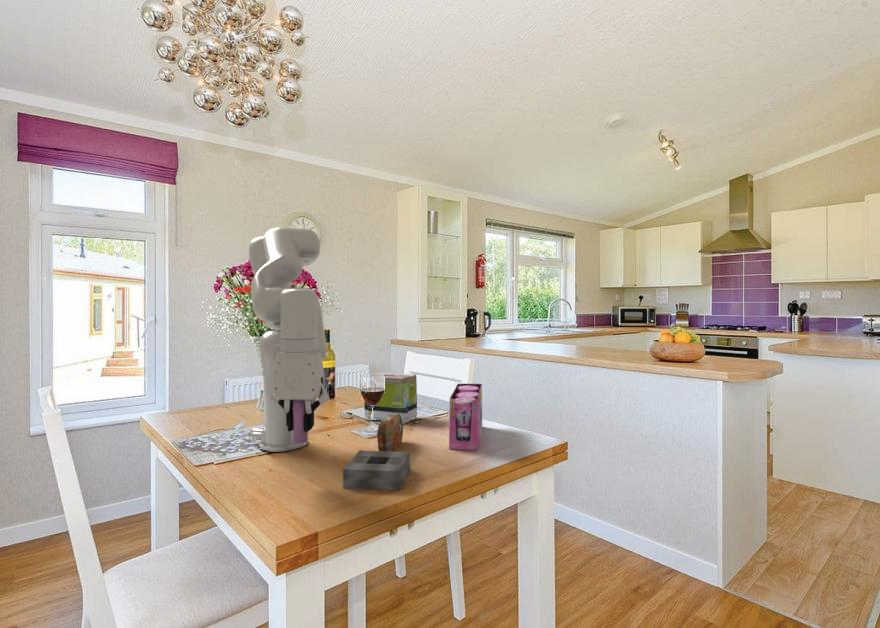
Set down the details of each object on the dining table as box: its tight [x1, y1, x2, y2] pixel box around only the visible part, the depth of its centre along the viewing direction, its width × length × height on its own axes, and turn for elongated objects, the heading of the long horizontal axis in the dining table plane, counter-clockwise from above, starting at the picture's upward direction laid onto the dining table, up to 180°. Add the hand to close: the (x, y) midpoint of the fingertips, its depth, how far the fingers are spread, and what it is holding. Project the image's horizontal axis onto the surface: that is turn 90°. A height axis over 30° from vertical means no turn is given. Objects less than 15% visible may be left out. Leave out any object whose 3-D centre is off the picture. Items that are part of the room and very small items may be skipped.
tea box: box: [363, 372, 418, 425], centre depth 152 cm, size 15×10×15 cm, turn 66°
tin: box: [376, 414, 404, 452], centre depth 121 cm, size 15×3×8 cm, turn 168°
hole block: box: [342, 449, 411, 491], centre depth 101 cm, size 12×12×4 cm
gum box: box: [448, 383, 483, 451], centre depth 130 cm, size 24×8×14 cm, turn 172°
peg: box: [293, 400, 309, 444], centre depth 100 cm, size 3×3×10 cm
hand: (300, 429), depth 100 cm, fingers closed on peg, 3 cm apart
